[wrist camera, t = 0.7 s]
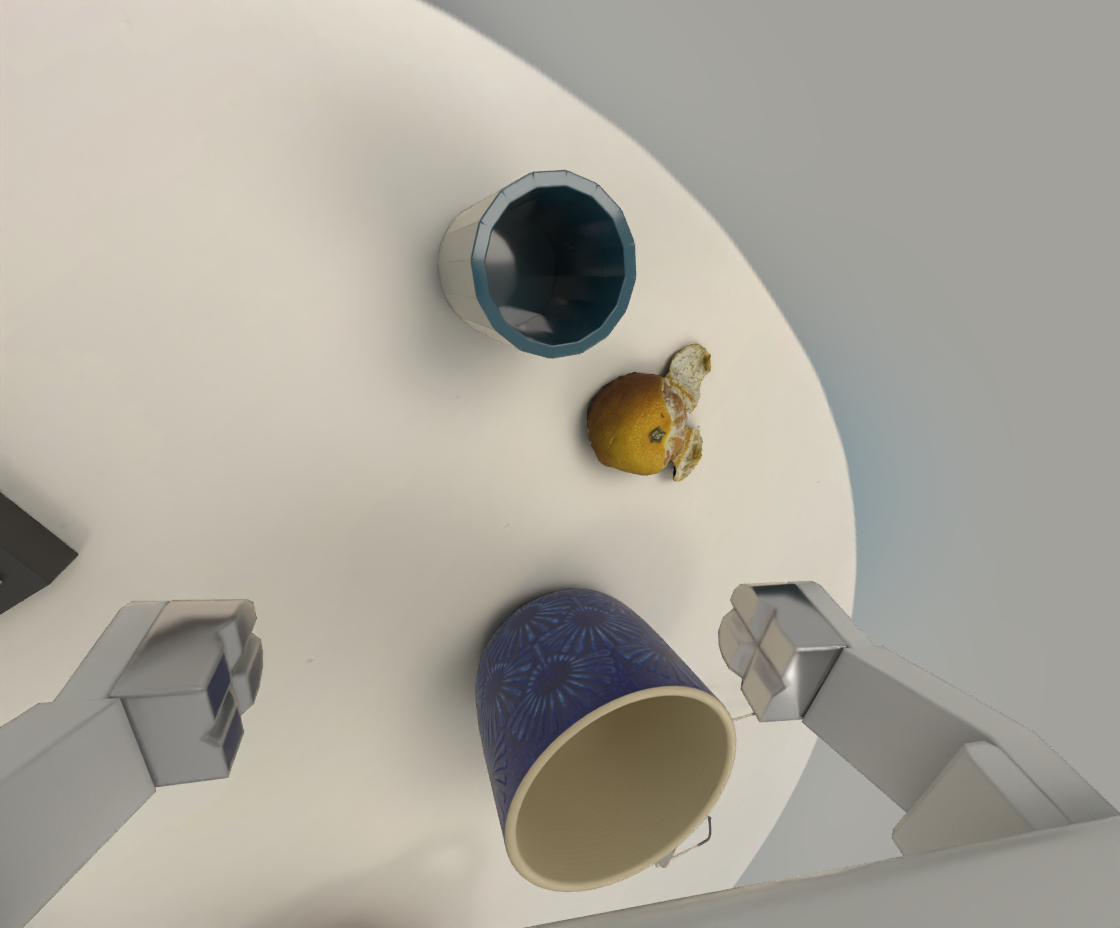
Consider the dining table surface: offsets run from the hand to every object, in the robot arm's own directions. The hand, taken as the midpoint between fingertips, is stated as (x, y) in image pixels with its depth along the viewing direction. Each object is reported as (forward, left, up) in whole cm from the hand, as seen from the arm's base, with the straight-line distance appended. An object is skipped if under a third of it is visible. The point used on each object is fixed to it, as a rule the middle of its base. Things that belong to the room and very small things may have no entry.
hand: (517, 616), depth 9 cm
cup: (-3, +7, -19) cm, 21 cm away
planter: (+19, -2, -19) cm, 28 cm away
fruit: (+9, +11, -19) cm, 24 cm away
